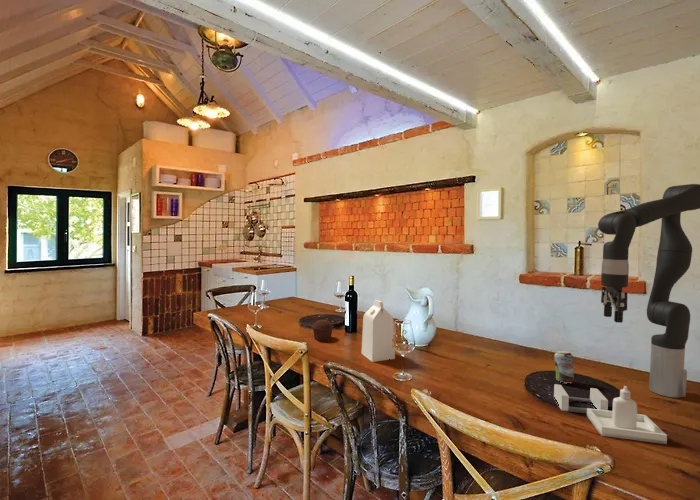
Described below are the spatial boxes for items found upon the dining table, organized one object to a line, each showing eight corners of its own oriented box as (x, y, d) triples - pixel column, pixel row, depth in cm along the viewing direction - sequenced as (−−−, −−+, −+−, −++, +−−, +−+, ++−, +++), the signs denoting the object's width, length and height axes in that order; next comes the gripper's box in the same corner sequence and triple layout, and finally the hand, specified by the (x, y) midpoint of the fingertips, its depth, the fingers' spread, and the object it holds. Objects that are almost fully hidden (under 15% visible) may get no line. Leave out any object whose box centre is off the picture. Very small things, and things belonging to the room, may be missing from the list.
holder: (596, 403, 123) (597, 388, 123) (607, 415, 115) (608, 400, 115) (553, 398, 127) (554, 384, 127) (561, 410, 118) (561, 395, 118)
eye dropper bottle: (614, 419, 111) (616, 381, 110) (637, 427, 107) (639, 387, 106) (610, 424, 108) (612, 385, 107) (633, 432, 104) (635, 391, 103)
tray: (644, 422, 111) (645, 414, 111) (666, 444, 100) (667, 435, 99) (586, 415, 115) (587, 408, 115) (601, 435, 104) (601, 426, 104)
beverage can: (565, 386, 136) (566, 355, 136) (549, 379, 144) (550, 349, 143) (578, 385, 138) (579, 353, 138) (562, 377, 145) (563, 347, 145)
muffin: (310, 336, 201) (310, 318, 200) (330, 334, 204) (330, 317, 204) (315, 342, 190) (315, 323, 189) (335, 340, 193) (335, 322, 192)
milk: (395, 358, 166) (395, 302, 165) (372, 361, 162) (372, 304, 160) (383, 350, 177) (383, 297, 176) (361, 353, 173) (361, 299, 172)
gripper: (637, 275, 116) (635, 325, 117) (618, 270, 130) (616, 315, 131) (610, 274, 118) (608, 323, 119) (594, 270, 132) (592, 314, 133)
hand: (612, 319), depth 125 cm, fingers open, 8 cm apart
